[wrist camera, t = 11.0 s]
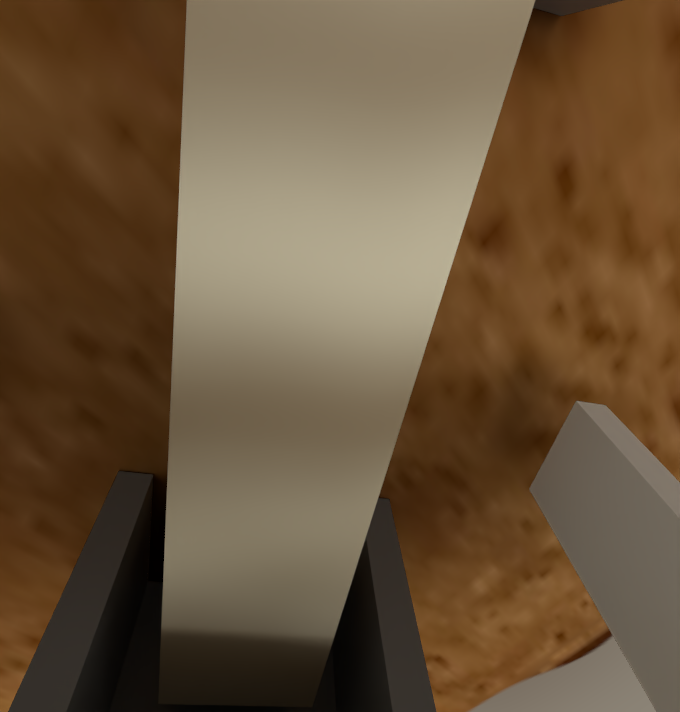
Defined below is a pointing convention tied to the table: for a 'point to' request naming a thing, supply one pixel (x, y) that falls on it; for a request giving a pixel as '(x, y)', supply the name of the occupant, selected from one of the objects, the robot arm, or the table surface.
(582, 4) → the grey u-shaped bracket
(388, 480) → the table surface
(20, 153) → the table surface
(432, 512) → the table surface
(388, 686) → the open grey box
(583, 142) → the table surface
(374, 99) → the slat
